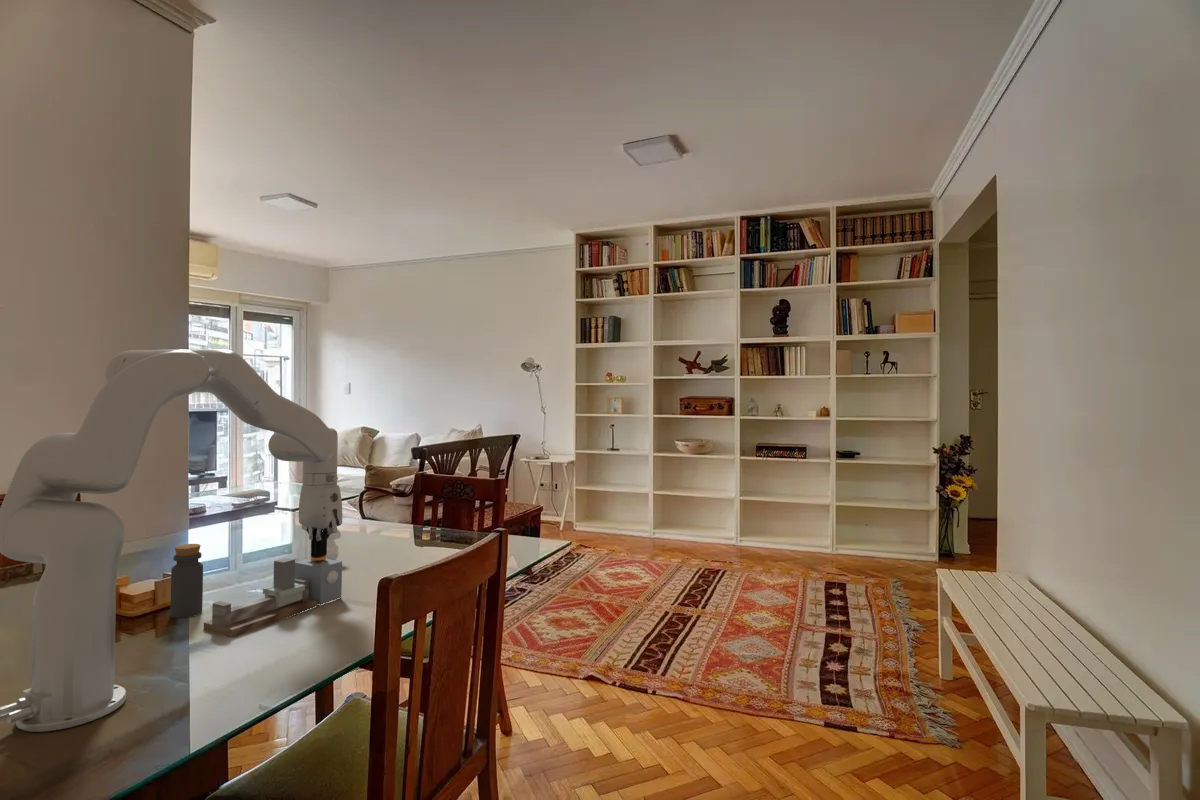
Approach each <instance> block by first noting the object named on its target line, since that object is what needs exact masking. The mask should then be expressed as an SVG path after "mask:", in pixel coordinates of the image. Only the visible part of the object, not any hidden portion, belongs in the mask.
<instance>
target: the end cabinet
mask: <svg viewBox="0 0 1200 800" xmlns="http://www.w3.org/2000/svg"><path fill="white" fill-rule="evenodd" d="M297 578H300V579H305V580H309V599H310V600H314V601H317V604H320V605H321V604H323V603H326V602H329V601H331V600H335V599H337V598H340V597H341V598H342V585H343V583H342V582H343V581H342V580H343V579H342V578H343V561H341V560H338V559H336V560H331V559H326V560H325V561H324V563H321V564H313V562H311V557H310V558H306V559H302V560H299V561H295V579H297Z"/></svg>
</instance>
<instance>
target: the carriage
mask: <svg viewBox="0 0 1200 800" xmlns="http://www.w3.org/2000/svg"><path fill="white" fill-rule="evenodd" d="M295 562H296V559H294V558H290V557H284V558H279V559H276V560H273V585H270V586H267V587H263V588H262V594H263V595H264V598H265V597H269V596H275V597H276V606H277V607H280V606H283V605H286V604H289V603H292V602H295V601H298V600H301V599H302V597H303V591H304V590H305V585H302V584H297V583H295Z"/></svg>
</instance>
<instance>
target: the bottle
mask: <svg viewBox="0 0 1200 800" xmlns="http://www.w3.org/2000/svg"><path fill="white" fill-rule="evenodd" d="M200 549H201V544H199V543H187V544H180V545H177V546H175V547H174V551H175V554H174V555H173V561H175V562H176V564H174V565H173V566H172V567H171V569H170V570H171V571H170V572H171V573H170V575H171V576H170V605H169V606H170V611H169V612H170V618H172V619H186V618H192V617H195V616H198V615H200V614H201V613H202V612H203V595H204V594H203V593H204V592H203V590H204V564H203V563H202V562H200V561H199V559H201V558H202V552H201V551H200Z"/></svg>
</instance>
